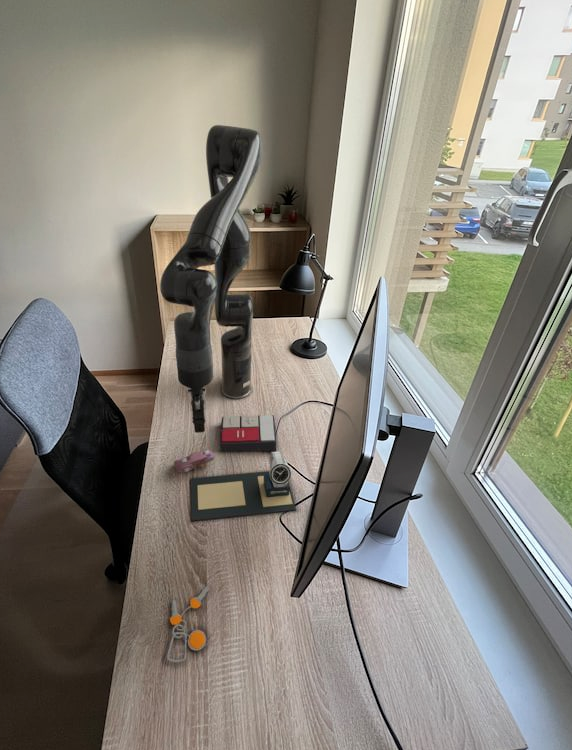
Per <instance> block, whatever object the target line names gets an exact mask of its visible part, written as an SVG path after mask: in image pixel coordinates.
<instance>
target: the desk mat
mask: <svg viewBox="0 0 572 750" xmlns="http://www.w3.org/2000/svg"><path fill="white" fill-rule="evenodd" d="M269 472H270V470H265V471H257V472H245V473H235V474H233V473H232V474H223V475H214V476H213V475H212V476H204V477H203V476H202V477H191V479H190V484H191V485H190V486H191V489H190V490H191V491H190V493H191V494H190V495H191V522H199V521H209V520H218V519H227V518H239V517H247V516H259V515H265V514H266V515H267V514H276V513H285V512H295V511H297V507H296V504H295V499H294V496H293V492H292V488H291V487H290V491H289V495H286V496H276V497H266V493H265V488H264V483H263V481H264V474H269ZM289 485H290V483H289ZM290 486H291V485H290Z"/></svg>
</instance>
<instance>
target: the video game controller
mask: <svg viewBox="0 0 572 750" xmlns="http://www.w3.org/2000/svg"><path fill="white" fill-rule="evenodd" d="M213 460H215V455H214V453H213V452H212V451H211V450H210V449H204V450H201V451H194V452H192V453H190V454H189V455H187V456H184V457H182V458H181V459H179V460H178V459H176V460H174V462H173V465H174V468H175V469H176V471H178V472H180V473H181V472H184V473H188V472H191V471H193V470H194V469H195V465H197V468H203V467H204V466H205V465H207V464H208V463H210V462H212V461H213Z"/></svg>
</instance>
